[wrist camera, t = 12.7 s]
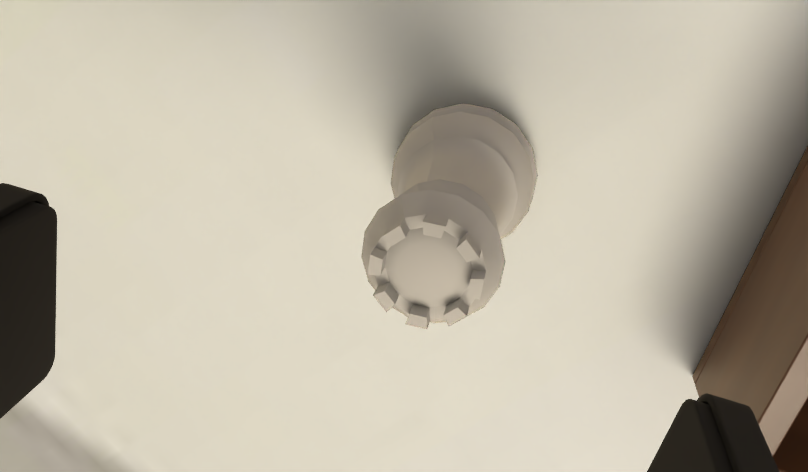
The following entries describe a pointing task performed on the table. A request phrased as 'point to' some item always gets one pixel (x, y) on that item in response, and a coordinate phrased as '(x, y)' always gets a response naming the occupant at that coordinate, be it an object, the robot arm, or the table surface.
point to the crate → (769, 333)
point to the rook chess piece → (449, 214)
